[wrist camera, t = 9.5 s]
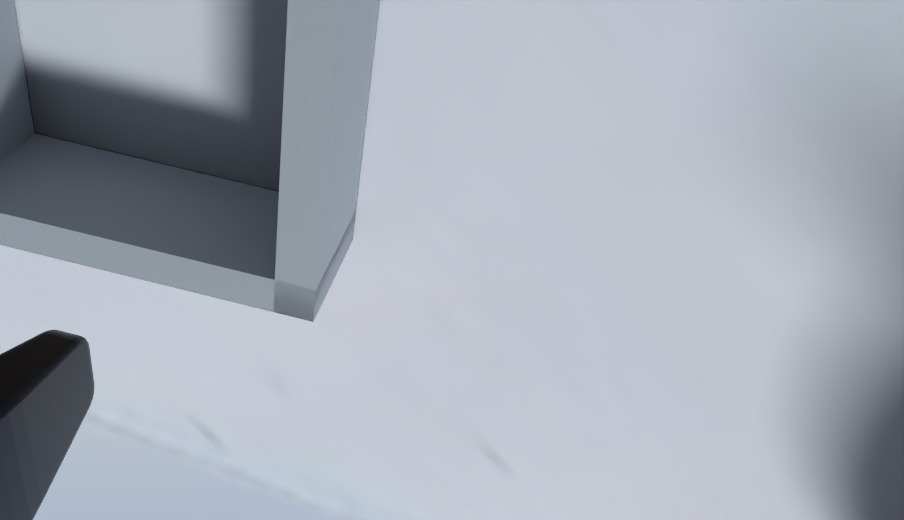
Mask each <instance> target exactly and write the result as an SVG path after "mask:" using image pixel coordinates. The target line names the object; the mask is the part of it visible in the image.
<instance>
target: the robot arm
mask: <svg viewBox="0 0 904 520" xmlns="http://www.w3.org/2000/svg"><path fill="white" fill-rule="evenodd" d="M93 394H94V379H93V372H92V364H91V356H90V349H89V344H88V342H87V341H86V339H85V338H83V337H81V336H78V335H74V334H70V333H66V332H62V331H58V330H50V331H46V332H44V333H41V334H39V335H37V336H35V337H33V338H32V339H30V340H28V341H26V342H24V343H22V344H20V345H18V346H16V347H14V348H12V349H10V350H8V351H6V352H4V353H2V354H0V520H33V518H34V516H35V514H36V512H37V511H38V509H39V507H40V505H41V503H42V501H43V499H44V497H45V495H46V493H47V491H48V489H49V487H50V485H51V483H52V481H53V479H54V477H55V475H56V473H57V471H58V469H59V467H60V465H61V463H62V461H63V459H64V457H65V455H66V453H67V451H68V449H69V447H70V445H71V443H72V441H73V439H74V437H75V435H76V433H77V431H78V429H79V427H80V425H81V423H82V421H83V419H84V417H85V415H86V413H87V411H88V409H89V407H90V404H91V402H92V399H93Z"/></svg>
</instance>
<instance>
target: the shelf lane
mask: <svg viewBox="0 0 904 520" xmlns="http://www.w3.org/2000/svg"><path fill="white" fill-rule="evenodd" d="M379 2H380V0H288V7H287V29H286V50H285V72H284V93H283V115H282V136H281V158H280V179H279V192H277V191H273V190H269V189H265V188H261V187H257V186H252V185H248V184H244V183H240V182H236V181H231V180H227V179H223V178H219V177H215V176H211V175H206V174H202V173H198V172H194V171H190V170H185V169H181V168H177V167H173V166H169V165H165V164H160V163H156V162H152V161H148V160H144V159H139V158H135V157H131V156H127V155H123V154H119V153H114V152H110V151H106V150H102V149H98V148H93V147H89V146H85V145H81V144H77V143H73V142H68V141H64V140H60V139H56V138H52V137H47V136H43V135H39V134H35V133H34V128H33V121H32V115H31V108H30V101H29V95H28V88H27V82H26V75H25V69H24V62H23V56H22V49H21V42H20V36H19V29H18V23H17V16H16V10H15V3H14V0H0V245H3V246H7V247H11V248H16V249H20V250H24V251H28V252H32V253H36V254H40V255H44V256H48V257H52V258H56V259H60V260H64V261H68V262H72V263H77V264H81V265H85V266H89V267H93V268H97V269H101V270H105V271H109V272H113V273H117V274H121V275H125V276H129V277H134V278H138V279H142V280H146V281H150V282H154V283H158V284H162V285H166V286H170V287H174V288H178V289H182V290H186V291H190V292H195V293H199V294H203V295H207V296H211V297H215V298H219V299H223V300H227V301H231V302H235V303H239V304H243V305H247V306H251V307H256V308H260V309H264V310H268V311H272V312H276V313H280V314H284V315H288V316H292V317H296V318H300V319H304V320H308V321H312V322H313V321H314V319H315V317H316V315H317V313H318V311H319V309H320V307H321V305H322V303H323V301H324V298H325V296H326V294H327V292H328V290H329V288H330V286H331V284H332V282H333V280H334V278H335V276H336V273H337V271H338V269H339V267H340V265H341V263H342V261H343V259H344V257H345V255H346V253H347V251H348V248H349V246H350V244H351V242H352V240H353V231H354V222H355V214H356V205H357V196H358V187H359V178H360V169H361V161H362V152H363V143H364V134H365V125H366V116H367V108H368V99H369V90H370V81H371V72H372V64H373V55H374V46H375V37H376V28H377V19H378V11H379Z"/></svg>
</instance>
